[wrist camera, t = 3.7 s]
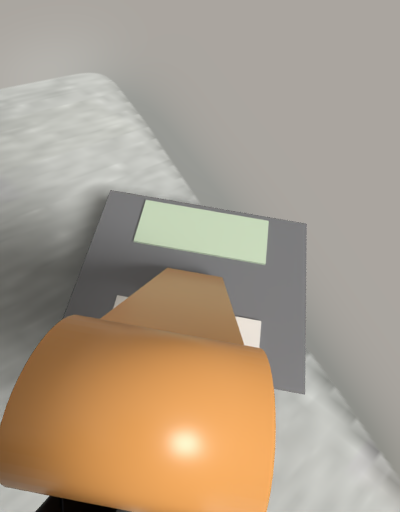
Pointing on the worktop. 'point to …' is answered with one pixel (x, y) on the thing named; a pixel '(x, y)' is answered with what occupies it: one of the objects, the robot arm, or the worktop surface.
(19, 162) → the worktop surface
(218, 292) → the lever
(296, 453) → the worktop surface
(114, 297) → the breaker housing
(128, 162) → the worktop surface
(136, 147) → the worktop surface
